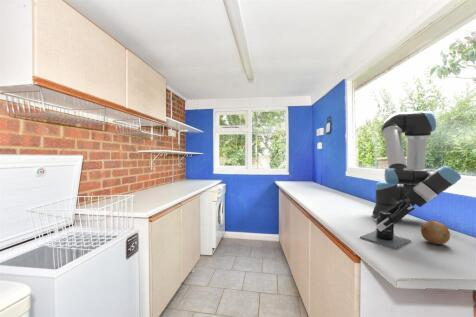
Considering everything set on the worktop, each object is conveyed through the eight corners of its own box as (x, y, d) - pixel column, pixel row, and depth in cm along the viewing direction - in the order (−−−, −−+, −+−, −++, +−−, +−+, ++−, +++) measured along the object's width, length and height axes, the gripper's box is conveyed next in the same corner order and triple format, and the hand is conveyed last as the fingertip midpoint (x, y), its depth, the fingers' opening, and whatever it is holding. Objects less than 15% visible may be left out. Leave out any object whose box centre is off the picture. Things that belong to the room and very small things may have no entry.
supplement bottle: (387, 241, 97) (387, 214, 97) (372, 236, 104) (372, 211, 104) (397, 239, 100) (397, 213, 100) (382, 234, 106) (382, 210, 106)
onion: (438, 249, 91) (438, 225, 91) (414, 240, 101) (415, 218, 101) (456, 247, 93) (456, 224, 93) (431, 238, 103) (431, 217, 103)
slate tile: (376, 232, 112) (376, 230, 112) (411, 241, 99) (411, 240, 99) (359, 238, 104) (359, 236, 104) (395, 249, 91) (395, 247, 91)
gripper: (436, 207, 84) (386, 240, 92) (420, 197, 104) (381, 225, 112) (418, 192, 87) (372, 226, 95) (406, 185, 106) (369, 213, 114)
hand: (377, 225), depth 103 cm, fingers open, 9 cm apart
